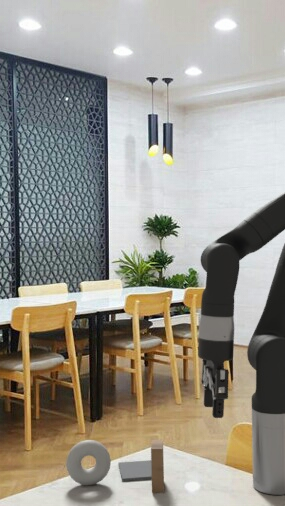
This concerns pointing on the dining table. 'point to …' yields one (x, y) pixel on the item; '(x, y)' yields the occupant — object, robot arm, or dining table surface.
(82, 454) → the donut
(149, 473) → the rubber mat
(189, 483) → the dining table surface
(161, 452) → the walnut slab
